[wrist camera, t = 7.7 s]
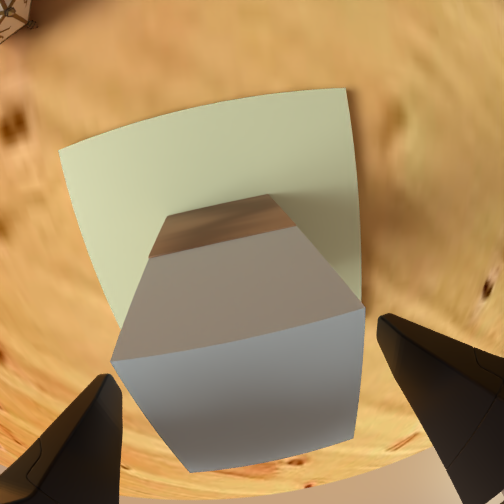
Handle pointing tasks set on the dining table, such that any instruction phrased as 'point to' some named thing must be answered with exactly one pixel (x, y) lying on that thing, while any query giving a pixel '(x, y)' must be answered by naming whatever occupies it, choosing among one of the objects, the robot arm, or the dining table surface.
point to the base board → (217, 179)
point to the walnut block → (219, 224)
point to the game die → (14, 17)
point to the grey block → (244, 351)
